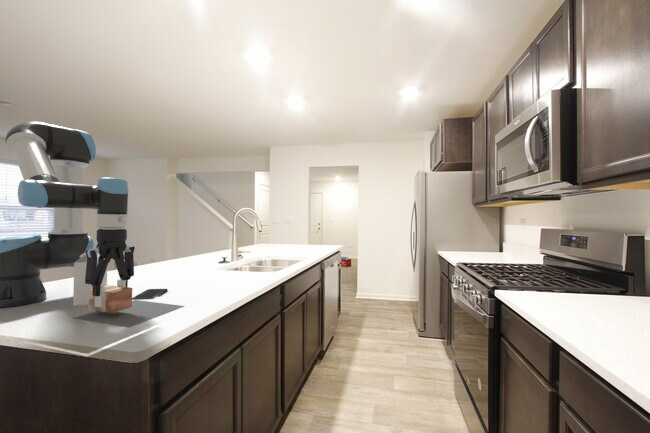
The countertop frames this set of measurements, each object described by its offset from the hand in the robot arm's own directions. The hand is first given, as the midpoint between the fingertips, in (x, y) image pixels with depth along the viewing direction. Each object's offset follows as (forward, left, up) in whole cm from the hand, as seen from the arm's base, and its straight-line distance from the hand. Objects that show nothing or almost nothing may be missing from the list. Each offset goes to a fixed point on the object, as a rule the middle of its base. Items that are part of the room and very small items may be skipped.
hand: (110, 303), depth 89 cm
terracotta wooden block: (0, 0, -1) cm, 1 cm away
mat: (+4, +4, -4) cm, 7 cm away
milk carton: (-19, +7, -4) cm, 20 cm away
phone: (-9, +22, -4) cm, 24 cm away
